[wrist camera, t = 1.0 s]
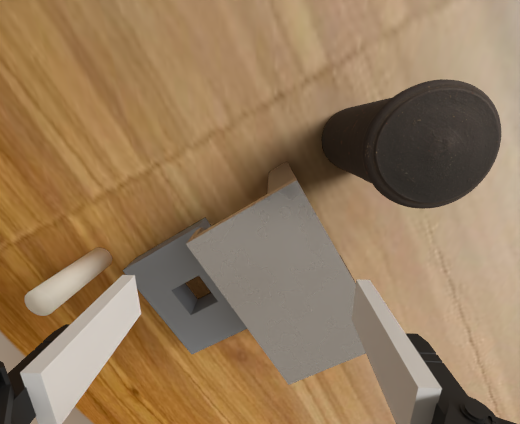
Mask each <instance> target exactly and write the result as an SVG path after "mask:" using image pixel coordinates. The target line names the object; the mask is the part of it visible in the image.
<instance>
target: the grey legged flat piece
mask: <svg viewBox="0 0 520 424" xmlns="http://www.w3.org/2000/svg"><path fill="white" fill-rule="evenodd" d="M186 245H187V246H188V248H189V249H190V251H191V252H192V253H193V255H194V256H195V257H196V259H197V260H198V261H199V263H200V264H201V266H202V267H203V268H204V270H205V271H206V272H207V274H208V275H209V276H210V278H211V279H212V281H213V282H214V283H215V285H216V286H217V287H218V289H219V290H220V292H221V293H222V294H223V296H224V297H225V298H226V300H227V301H228V302H229V304H230V305H231V307H232V308H233V309H234V311H235V312H236V313H237V315H238V316H239V317H240V319H241V320H242V322H243V323H244V324H245V326H246V327H247V328H248V330H249V331H250V333H251V334H252V335H253V337H254V338H255V339H256V341H257V342H258V343H259V345H260V346H261V348H262V349H263V350H264V352H265V353H266V354H267V356H268V357H269V358H270V360H271V361H272V363H273V364H274V365H275V367H276V368H277V369H278V371H279V372H280V374H281V375H282V376H283V378H284V379H285V380H286V382H287V383H288V384H292V383H294V382H297V381H299V380H302V379H304V378H306V377H309V376H311V375H314V374H316V373H319V372H321V371H324V370H326V369H329V368H331V367H333V366H336V365H338V364H341V363H343V362H346V361H348V360H351V359H353V358H355V357H358V356H360V355H363V354H365V353H366V352H365V349H364V347H363V345H362V342H361V340H360V338H359V335H358V333H357V331H356V328H355V326H354V324H353V321H352V312H353V304H354V296H355V287H356V283H355V281H354V279H353V277H352V275H351V274H350V272H349V270H348V268H347V267H346V265H345V263H344V261H343V259H342V258H341V256H340V255H339V254H338V252H337V250H336V248H335V247H334V245H333V243H332V241H331V240H330V238H329V236H328V234H327V233H326V231H325V229H324V227H323V225H322V224H321V222H320V220H319V218H318V217H317V215H316V213H315V211H314V210H313V208H312V206H311V204H310V202H309V201H308V199H307V197H306V195H305V193H304V191H303V189H302V187H301V186H300V184H299V182H298V180H297V178H296V176H295V175H294V173H293V171H292V169H291V168H290V166H289V164H288V162H285V163H283V164H282V165H280V166H278V167H277V168H275V169H273V170H272V171H270V172H269V177H268V190H267V195H265V196H263V197H261V198H260V199H258V200H256V201H255V202H253V203H251V204H249V205H248V206H246V207H244V208H242V209H241V210H239V211H237V212H235V213H234V214H232V215H230V216H229V217H227V218H225V219H223V220H222V221H220V222H218V223H216V224H215V225H213V226H211V227H209V228H208V229H206V230H204V229H203V227H201V228H199V229H198V230H196V231H195V233H194V234H193V235H192V236H191V238H190V239H189V240H188V242H187V243H186Z"/></svg>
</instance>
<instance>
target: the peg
mask: <svg viewBox="0 0 520 424" xmlns="http://www.w3.org/2000/svg"><path fill="white" fill-rule="evenodd" d="M111 263H112V256H111V254H110V253H109V252H108V251H107V250H106V249H104V248H95V249H93V250H92V251H90V252H89V253H87V254H86V255H84V256H83V257H81V258H80V259H78V260H77V261H75V262H74V263H72V264H71V265H69V266H68V267H66V268H65V269H63V270H61V271H60V272H58V273H57V274H55V275H54V276H52V277H51V278H49V279H48V280H46V281H45V282H43V283H42V284H40V285H39V286H37V287H36V288H34V289H33V290H31V291H29V292H28V293H27V294H26V295H25V304H26V306H27V308H28V309H29V310H30V311H32V312H33V313H35V314H37V315H41V316H46V315H49V314H51V313H52V312H53V311H54V310H56V309H57V308H58V307H59V306H60V305H62V304H63V303H64V302H65V301H67V300H68V299H69V298H70V297H71V296H73V295H74V294H75V293H76V292H78V291H79V290H80V289H81V288H82V287H84V286H85V285H86V284H87V283H89V282H90V281H91V280H92V279H93V278H95V277H96V276H97V275H98V274H100V273H101V272H102V271H103V270H104V269H106V268H107V267H108V266H109V265H110V264H111Z"/></svg>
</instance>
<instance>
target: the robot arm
mask: <svg viewBox="0 0 520 424" xmlns="http://www.w3.org/2000/svg"><path fill="white" fill-rule="evenodd" d="M140 315H141V310H140V304H139V298H138V292H137V286H136V280H135V275H122V276H121V277H120V278H119V279H118V280H117V281H116V282H114V283H113V284H112V285H111V286H110V287H109V288H108V289H107V290H106V291H105V292H104V293H103V294H102V295H101V296H100V297H99V298H98V299H97V300H96V301H95V302H94V303H92V304H91V305H90V306H89V307H88V308H87V309H86V310H85V311H84V312H83V313H82V314H81V315H80V316H79V317H78V318H77V319H76V320H75V321H74V322H73V323H72V324H70V325H64V326H62V327H61V328H59V329H58V330H56V331H54V332H53V333H52V334H51V335H50V336H48V337H47V338H46V339H45V340H44V341H43V343H41V344H40V345H39V346H37V347H36V348H35V350H33V351H32V352H31V353H30V354H29V355H28V356H27V357H25V358H24V359H23V360H22V361H21V362H20V363H19V364H18V365H17V366H16V367H15V368H13V369H12V370H11V371H10V372H9V373H8V374H7V371H6V369H5V366H4V363H3V362H1V361H0V424H30V423H31V421H32V420H33V419H34V418H35V417H36V419H37V422H38V424H62V423H63V421H64V420H65V419H66V417H67V416H68V415H69V413H70V412H71V411H72V409H73V408H74V406H75V405H76V404H77V402H78V401H79V399H80V398H81V397H82V395H83V394H84V392H85V391H86V390H87V388H88V387H89V386H90V384H91V383H92V381H93V380H94V379H95V377H96V376H97V374H98V373H99V372H100V370H101V369H102V367H103V366H104V365H105V363H106V362H107V361H108V359H109V358H110V356H111V355H112V354H113V352H114V351H115V349H116V348H117V347H118V345H119V344H120V342H121V341H122V340H123V338H124V337H125V336H126V334H127V333H128V331H129V330H130V329H131V327H132V326H133V324H134V323H135V322H136V320H137V319H138V317H139V316H140ZM352 321H353V324H354V326H355V328H356V331H357V333H358V335H359V338H360V340H361V342H362V345H363V347H364V349H365V352H366V354H367V356H368V359H369V361H370V363H371V366H372V368H373V371H374V373H375V375H376V378H377V380H378V382H379V385H380V387H381V389H382V392H383V394H384V396H385V399H386V401H387V403H388V406H389V408H390V410H391V413H392V415H393V417H394V420H395V422H396V424H516V423H513V422H510V421H506V420H503V419H501V418H498V417H496V416H495V415H494V414H493V412H492V411H490V410H489V409H488V408H487V407H486V406H485V405H484V404H482V403H481V402H479V401H477V400H476V399H473V398H471V397H469V396H468V395H467V394H466V393H465V391H464V390H463V389H462V387H461V386H460V385H459V383H458V382H457V381H456V379H455V378H454V377H453V375H452V374H451V373H450V371H449V370H448V368H447V367H446V366H445V364H444V363H442V360H441V359H440V358H439V356H438V355H436V352H435V351H434V350H433V348H432V347H431V346H430V344H429V343H428V342H427V341H426V340H424V339H423V338H422V337H421V336H419V335H418V334H406V333H405V332H404V331H403V329H402V328H401V326H400V325H399V323H398V322H397V320H396V319H395V317H394V315H393V314H392V312H391V311H390V309H389V308H388V306H387V305H386V303H385V302H384V300H383V299H382V297H381V296H380V294H379V293H378V291H377V290H376V288H375V287H374V285H373V284H372V282H371V281H370V280H356V287H355V296H354V304H353V312H352Z"/></svg>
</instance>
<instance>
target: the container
mask: <svg viewBox="0 0 520 424" xmlns="http://www.w3.org/2000/svg"><path fill="white" fill-rule="evenodd" d="M500 141H501V124H500V118H499V115H498V112H497V110H496V108H495V106H494V104H493V102H492V101H491V100H490V98H489V97H488V96H487V95H486V94H485V93H484V92H482V91H481V90H480V89H478V88H477V87H475V86H473V85H471V84H468V83H465V82H461V81H455V80H433V81H428V82H424V83H420V84H418V85H415V86H413V87H410V88H408V89H406V90H404V91H402V92H401V93H399V94H397V95H396V96H394V97H393V98H389V99H384V100H380V101H376V102H372V103H368V104H364V105H359V106H355V107H350V108H347V109H344V110H342V111H339V112H338V113H336V114H335V115H334V116H332V117H331V118H330V120H329V121H328V122H327V124H326V126H325V128H324V130H323V134H322V147H323V150H324V153H325V155H326V157H327V158H328V159H329V160H330V161H331V162H332V163H333V164H334V165H336V166H337V167H339V168H341V169H343V170H345V171H347V172H350V173H352V174H354V175H356V176H358V177H360V178H362V179H364V180H365V181H368V182H370V183H372V184H373V185H374V187H375V188H376V189H377V190H378V191H379V192H380V193H381V194H382V195H383V196H385V197H386V198H388V199H389V200H391V201H393V202H395V203H397V204H400V205H403V206H407V207H412V208H434V207H440V206H443V205H446V204H449V203H452V202H454V201H456V200H458V199H460V198H462V197H463V196H465V195H466V194H468V193H469V192H471V191H472V190H473V189H474V188H475V187H476V186H477V185H478V184H479V183H480V182H481V181H482V180H483V179H484V178H485V176H486V175H487V174H488V172H489V171H490V169H491V167H492V165H493V163H494V162H495V159H496V157H497V154H498V151H499V147H500Z"/></svg>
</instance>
